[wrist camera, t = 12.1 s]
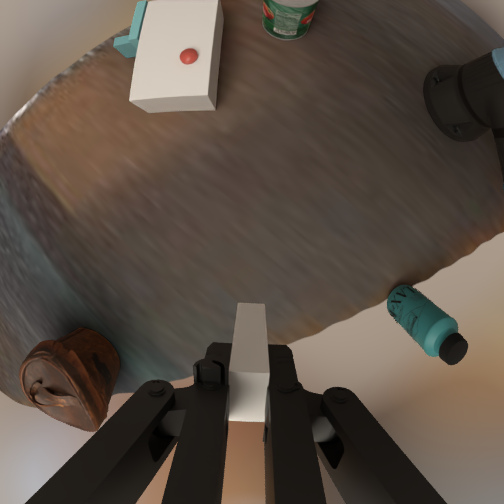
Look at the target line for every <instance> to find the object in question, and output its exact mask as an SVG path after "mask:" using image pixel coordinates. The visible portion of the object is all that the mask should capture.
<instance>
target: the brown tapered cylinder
mask: <svg viewBox="0 0 504 504" xmlns="http://www.w3.org/2000/svg"><path fill="white" fill-rule="evenodd" d="M119 369H120V360H119V357H118V354H117V352H116V351H115V349H114V348H113V346H112V345H111V344H110V343H109V341H108V340H107V339H105V338H104V337H103V336H101V335H100V334H99V333H97V332H95V331H93V330H90V329H86V328H83V327H81V328H78V329H77V330H75V331H73V332H72V333H70V334H68V335H66V336H64V337H61V338H59V339H57V340H46V341H42V342H40V343H39V344H38V345H37V346H36V347H34V348H33V349H32V351H31V352H30V353H29V354H28V356H27V357H26V359H25V360H24V362H23V363H22V365H21V368H20V373H19V378H20V383H21V387H22V390H23V392H24V393H25V395H26V397H27V398H28V399H29V400H30V401H31V402H32V403H33V404H34V405H35V406H36V407H37V408H38V409H40V410H41V411H42V412H44V413H46V414H47V415H49V416H51V417H52V418H54V419H56V420H58V421H61V422H63V423H66V424H68V425H70V426H73V427H76V428H79V429H82V430H84V431H89V432H94V431H97V430H98V429H99V427H100V425H101V424H102V422H103V421H104V419H105V418H106V417H107V412H108V404H109V402H110V399H111V396H112V393H113V390H114V386H115V383H116V379H117V376H118V373H119Z"/></svg>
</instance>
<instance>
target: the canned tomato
mask: <svg viewBox="0 0 504 504" xmlns="http://www.w3.org/2000/svg"><path fill="white" fill-rule="evenodd" d="M318 1H319V0H263V19H262V25H263V27H264V29H265V31H266V32H267V33H268V34H270V35H271V36H273V37H275V38H277V39H280V40H296V39H299V38H301V37H303V36H304V35H305V34H306V33H307V31H308V29H309V25H310V23H311V20H312V17H313V15H314V12H315V9H316V6H317V4H318Z"/></svg>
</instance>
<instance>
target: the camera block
mask: <svg viewBox="0 0 504 504" xmlns="http://www.w3.org/2000/svg"><path fill="white" fill-rule="evenodd" d="M223 23H224V16H223V11H222V6H221V1H220V0H156V1H150V2H148V4H147V8H146V12H145V16H144V20H143V25H142V29H141V34H140V38H139V43H138V48H137V53H136V59H135V65H134V71H133V77H132V84H131V91H130V99H129V101H130V102H132V103H133V104H135V105H137V106H138V107H140V108H141V109H143V110H145V111H146V112H148V113H157V112H173V111H200V110H216V98H217V85H218V74H219V62H220V52H221V42H222V32H223Z"/></svg>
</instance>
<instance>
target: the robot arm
mask: <svg viewBox="0 0 504 504" xmlns="http://www.w3.org/2000/svg"><path fill="white" fill-rule="evenodd" d="M424 98H425V102H426V106H427V109H428V111H429V113H430V115H431V117H432V119H433V120H434V122H435V123H436V125H437V126H438V127H439V129H440V130H441V131H442V132H443V133H444V134H446V135H447V136H448V137H450V138H452V139H454V140H456V141H461V142H464V141H471V140H474V139H477V138H478V137H479V136H481V135H482V134H483V133H485V132H486V131H487V130H488V129H490V128H492V131H493V134H494V138H495V142H496V147H497V151H498V155H499V160H500V165H501V170H502V176H503V182H504V47H503V48H496V49H494V50H493V51H492V52H490V53H488V54H485V55H483V56H481V57H479V58H477V59H475V60H473V61H471V62H469V63H467V64H464V65H442V66H439V67H437V68H435V69H433V70H431V71H430V72H429V73H428V75H427V76H426V78H425V81H424ZM503 190H504V184H503ZM193 374H194V384H193V385H191V386H189V387H185V388H176V389H174V388H173V386H172V385H171V384H170V383H169V382H167V381H164V380H151V381H148V382H146V383H144V384H143V385H142V386H141V387H140V388H139V389H138V390H137V391H136V392H135V393H134V394H133V395H132V396H131V397H130V398H129V399H128V400H127V401H126V402H125V403H124V404H123V406H122V407H120V409H119V410H118V411H117V412H116V413H115V414H114V415H113V416H112V417H111V418H110V419H109V420H108V421H107V422H106V423H105V424H104V425H103V426H102V427H101V428H100V429H99V430H98V431H97V432H96V433H95V434H94V435H93V436H92V437H91V438H90V439H89V440H88V441H87V442H86V443H85V444H84V445H83V446H82V447H81V448H80V449H79V450H78V451H77V452H76V454H74V455H73V456H72V457H71V458H70V459H69V460H68V461H67V462H66V463H65V464H64V465H63V466H62V467H61V468H60V469H59V470H58V471H57V472H56V473H55V474H54V475H53V476H52V477H51V478H50V479H49V480H48V481H47V482H46V483H45V484H44V485H43V486H42V487H41V488H40V489H39V490H38V491H37V492H36V493H35V494H34V495H33V496H32V497H31V498H30V499H29V500H28V501H27V502H26V503H25V504H136V502H137V500H138V499H139V498H140V496H141V495H142V494H143V492H144V491H145V489H146V488H147V486H148V485H149V483H150V482H151V481H152V479H153V478H154V476H155V475H156V473H157V472H158V470H159V469H160V467H161V466H162V464H163V463H164V461H165V460H166V458H167V457H168V455H169V454H170V452H171V451H172V449H173V448H174V446H175V445H176V443H177V442H178V443H177V446H176V450H175V454H174V457H173V461H172V465H171V469H170V472H169V476H168V480H167V484H166V488H165V491H164V496H163V499H162V503H161V504H221V500H222V489H223V479H224V468H225V458H226V448H227V437H228V420H231V421H251V422H264V421H265V427H264V435H263V442H264V447H265V448H264V450H265V494H266V504H326V498H325V493H324V488H323V483H322V477H321V472H320V467H319V462H318V457H317V454H318V456H319V458H320V459H321V461H322V463H323V465H324V466H325V468H326V470H327V472H328V474H329V475H330V477H331V479H332V481H333V482H334V484H335V486H336V487H337V489H338V491H339V493H340V494H341V496H342V498H343V500H344V501H345V503H346V504H447V503H446V502H445V501H444V500H443V498H442V497H441V496H440V495H439V494H438V493H437V491H436V490H435V489H434V488H433V487H432V485H431V484H430V483H429V482H428V481H427V480H426V478H425V477H424V476H423V475H422V474H421V473H420V471H419V470H418V469H417V468H416V467H415V466H414V465H413V463H412V462H411V461H410V460H409V458H408V457H407V456H406V455H405V454H404V453H403V451H402V450H401V449H400V448H399V447H398V445H397V444H396V443H395V442H394V441H393V439H392V438H391V437H390V436H389V435H388V433H387V432H386V431H385V430H384V429H383V427H382V426H381V425H380V424H379V423H378V421H377V420H376V419H375V418H374V417H373V415H372V414H371V413H370V412H369V411H368V410H367V408H366V407H365V406H364V405H363V403H362V402H361V401H360V400H359V399H358V397H357V396H356V395H355V394H354V393H353V392H352V391H350V390H349V389H346V388H342V387H332V388H329V389H327V390H326V391H325V392H324V394H323V395H322V394H316V393H312V392H309V391H307V390H305V389H303V386H302V384H301V383H300V382H298V379H297V374H296V369H295V364H294V359H293V354H292V350H291V349H290V348H289V347H288V346H287V345H269V344H268V342H267V329H266V316H265V304H254V303H238V307H237V315H236V322H235V329H234V336H233V344H232V343H217V342H213V343H212V344H211V345H210V346H209V347H208V348H207V352H206V355H205V359H201V360H199V361H197V362H196V363H195V364H194V365H193Z"/></svg>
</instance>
